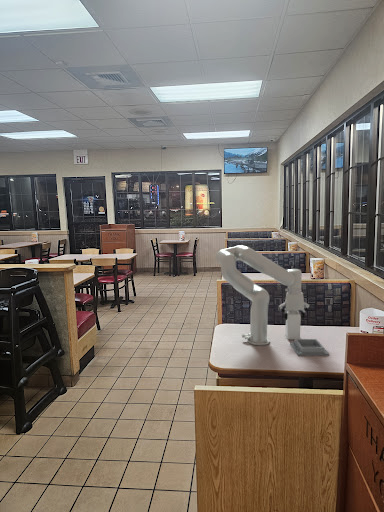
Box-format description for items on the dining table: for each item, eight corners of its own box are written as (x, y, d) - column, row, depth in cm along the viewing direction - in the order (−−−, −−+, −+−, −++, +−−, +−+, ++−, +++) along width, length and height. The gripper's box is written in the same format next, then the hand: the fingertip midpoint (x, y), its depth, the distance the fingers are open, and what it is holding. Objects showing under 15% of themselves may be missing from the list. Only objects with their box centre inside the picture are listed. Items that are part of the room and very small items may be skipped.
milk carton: (297, 335, 212) (298, 304, 209) (299, 340, 205) (301, 308, 202) (285, 335, 213) (286, 304, 210) (287, 339, 206) (288, 308, 203)
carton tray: (298, 355, 185) (298, 349, 184) (290, 344, 200) (290, 338, 199) (329, 355, 185) (329, 349, 184) (318, 343, 200) (318, 337, 199)
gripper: (281, 292, 201) (280, 321, 204) (311, 291, 201) (311, 320, 204) (277, 289, 208) (277, 317, 211) (307, 288, 208) (306, 316, 211)
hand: (294, 318), depth 207 cm, fingers open, 9 cm apart
